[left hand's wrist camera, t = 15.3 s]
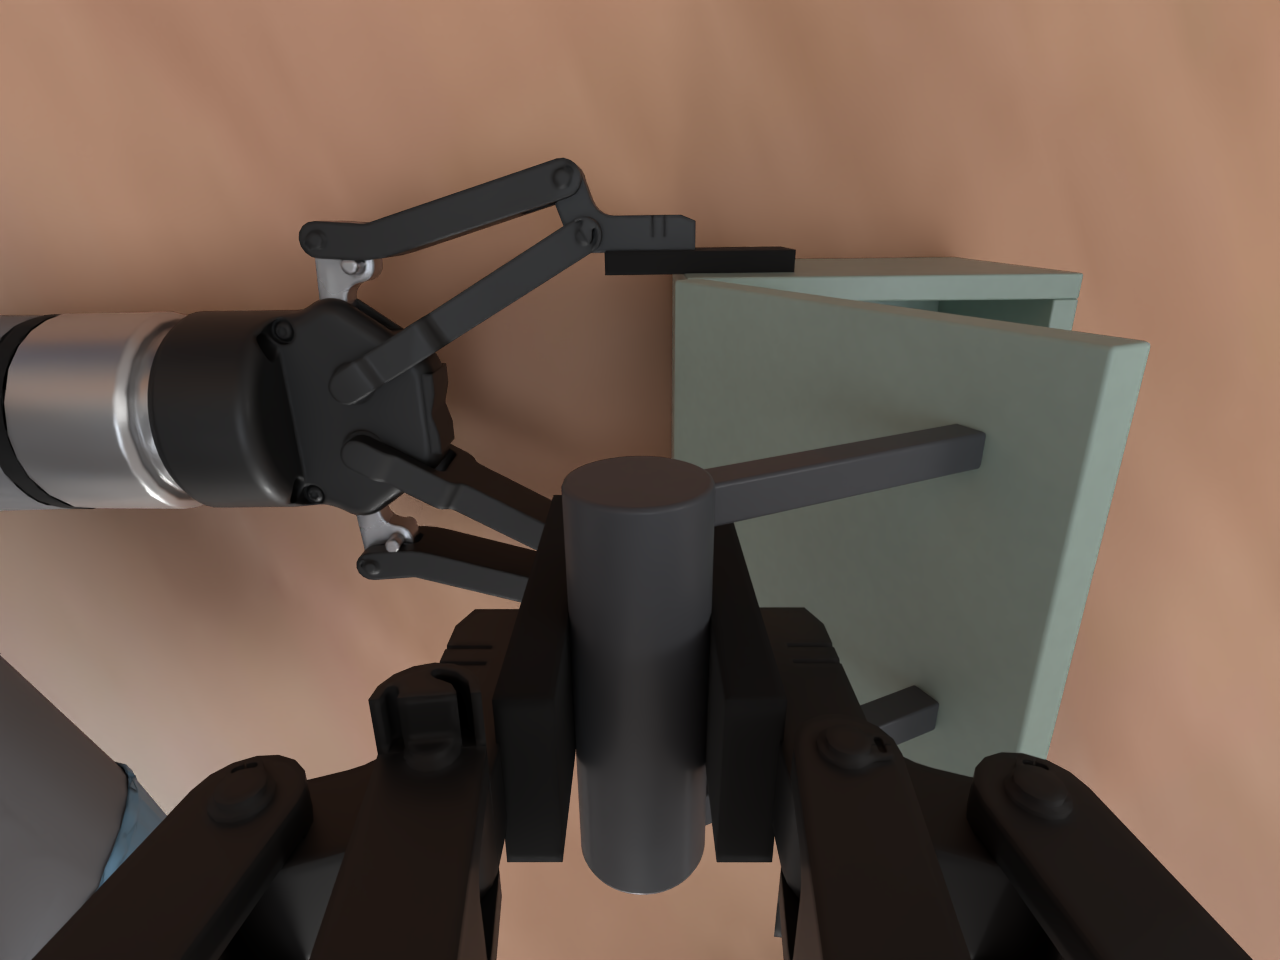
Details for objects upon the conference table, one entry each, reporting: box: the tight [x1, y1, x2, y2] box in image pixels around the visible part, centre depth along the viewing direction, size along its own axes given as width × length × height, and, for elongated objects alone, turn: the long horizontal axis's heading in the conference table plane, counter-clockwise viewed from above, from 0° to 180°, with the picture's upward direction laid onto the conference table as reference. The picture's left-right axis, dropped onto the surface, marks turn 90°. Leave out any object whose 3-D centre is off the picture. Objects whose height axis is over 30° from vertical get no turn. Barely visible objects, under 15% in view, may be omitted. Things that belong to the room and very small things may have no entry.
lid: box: [562, 279, 1150, 895], centre depth 16 cm, size 14×10×9 cm
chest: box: [672, 257, 1083, 459], centre depth 28 cm, size 13×10×10 cm
